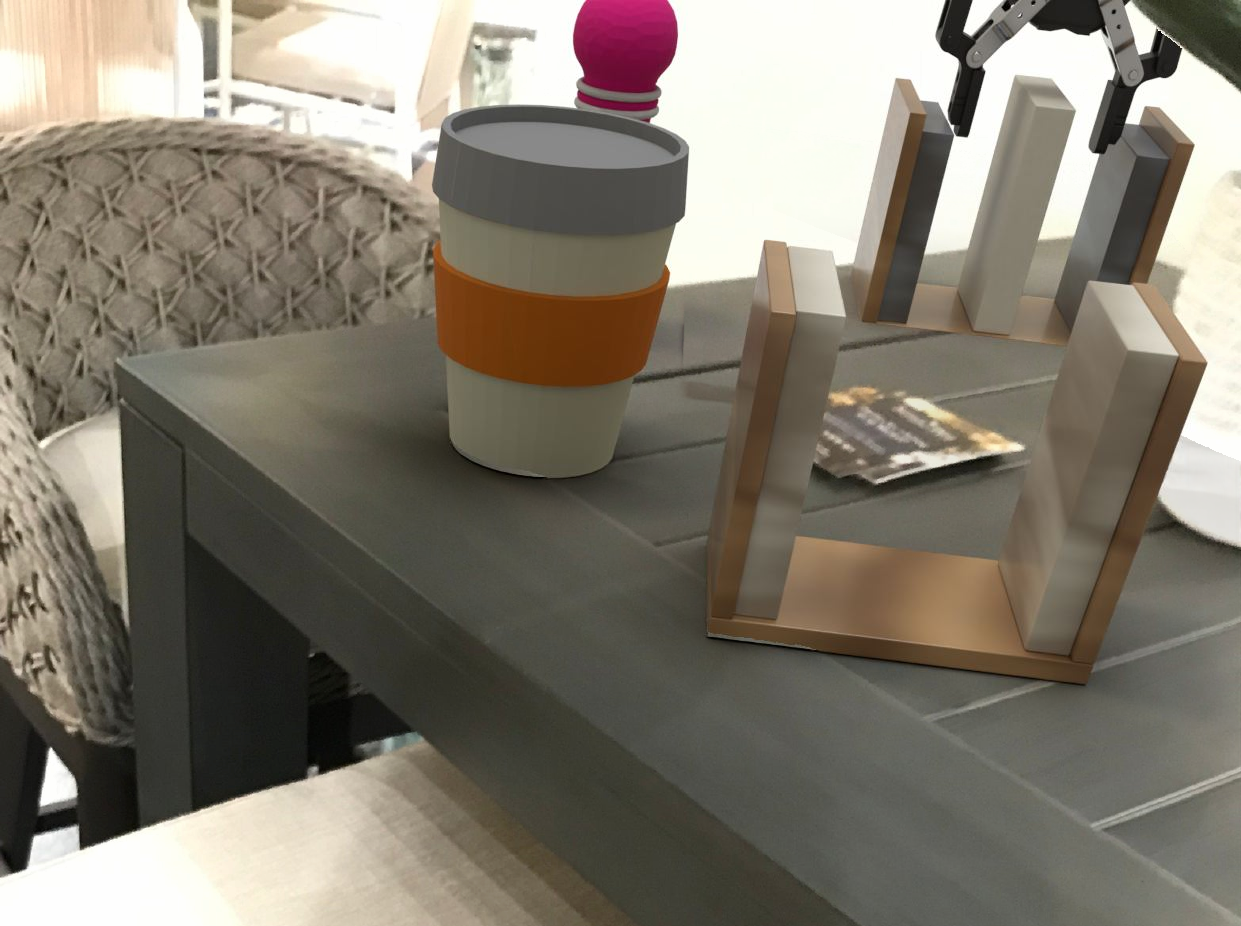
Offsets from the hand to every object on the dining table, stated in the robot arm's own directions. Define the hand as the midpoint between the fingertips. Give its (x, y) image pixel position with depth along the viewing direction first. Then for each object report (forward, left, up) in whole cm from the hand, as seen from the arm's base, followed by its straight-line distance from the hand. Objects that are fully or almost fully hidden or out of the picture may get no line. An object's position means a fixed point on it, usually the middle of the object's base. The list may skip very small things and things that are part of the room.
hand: (1028, 143), depth 102 cm
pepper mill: (+26, +9, -11) cm, 30 cm away
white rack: (+10, +45, -11) cm, 47 cm away
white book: (0, 0, -10) cm, 10 cm away
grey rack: (0, 0, -11) cm, 11 cm away
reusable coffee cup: (+28, +30, -11) cm, 42 cm away
